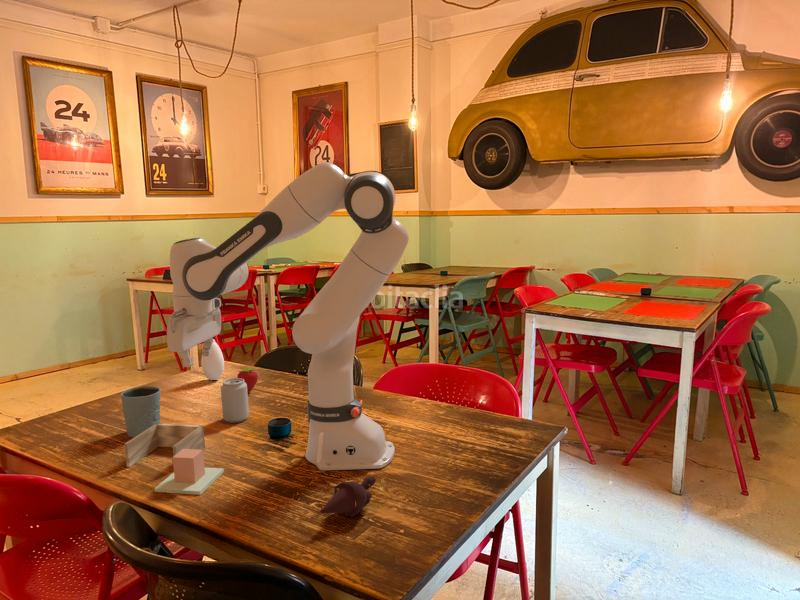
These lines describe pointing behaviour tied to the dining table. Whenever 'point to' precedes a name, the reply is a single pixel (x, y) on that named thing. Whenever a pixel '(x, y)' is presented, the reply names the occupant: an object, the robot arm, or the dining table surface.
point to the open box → (164, 440)
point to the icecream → (349, 497)
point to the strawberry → (248, 378)
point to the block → (189, 465)
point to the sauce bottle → (213, 363)
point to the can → (234, 400)
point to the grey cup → (141, 409)
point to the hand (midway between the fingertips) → (198, 360)
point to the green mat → (190, 488)
